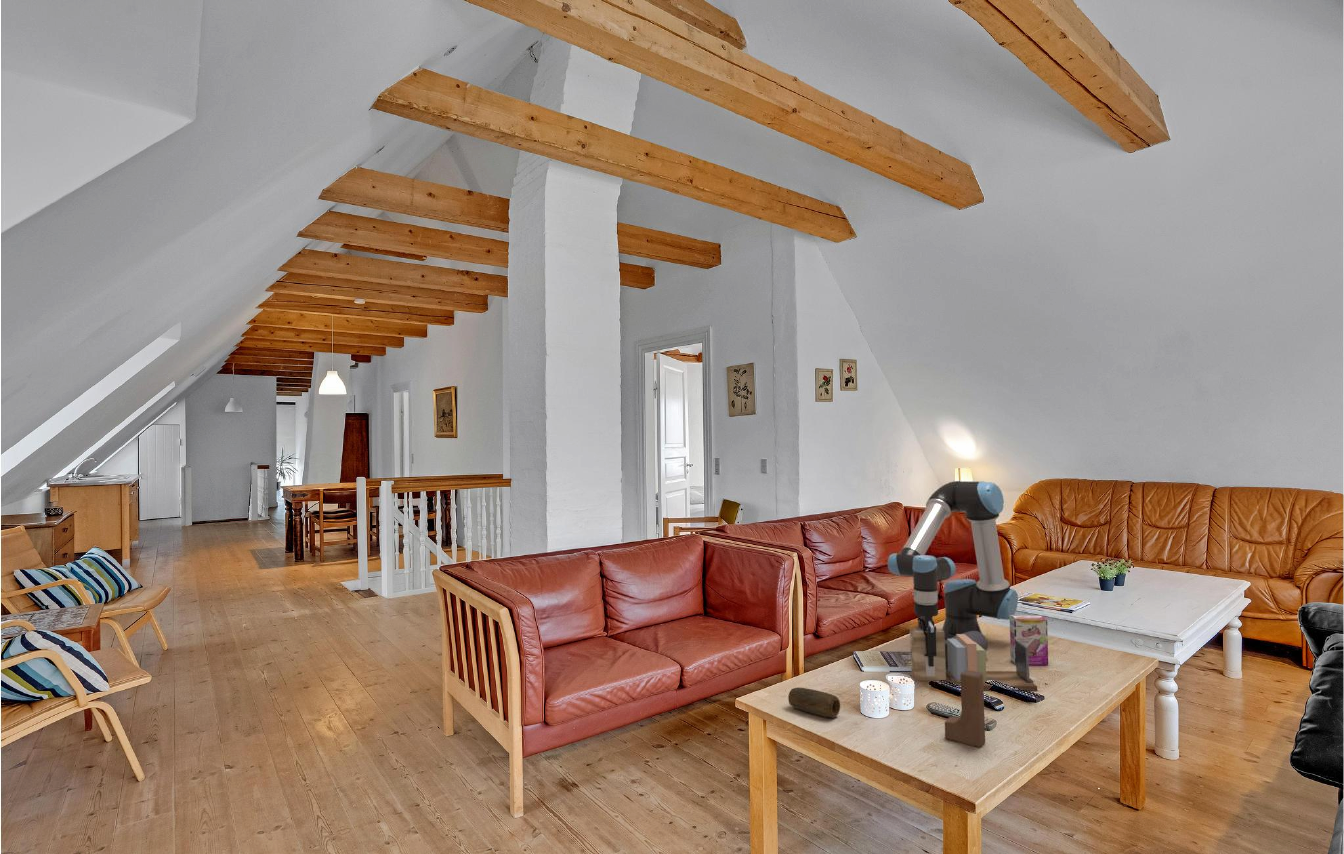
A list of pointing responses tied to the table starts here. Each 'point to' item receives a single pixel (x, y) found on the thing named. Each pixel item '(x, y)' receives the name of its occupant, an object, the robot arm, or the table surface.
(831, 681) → the table surface
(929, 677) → the tan rectangular block
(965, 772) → the table surface
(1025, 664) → the bookend
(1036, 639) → the candy bar box
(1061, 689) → the table surface
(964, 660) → the book row
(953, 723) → the wooden block
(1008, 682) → the shelf
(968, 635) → the bluetooth speaker
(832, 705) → the portable cylindrical speaker
